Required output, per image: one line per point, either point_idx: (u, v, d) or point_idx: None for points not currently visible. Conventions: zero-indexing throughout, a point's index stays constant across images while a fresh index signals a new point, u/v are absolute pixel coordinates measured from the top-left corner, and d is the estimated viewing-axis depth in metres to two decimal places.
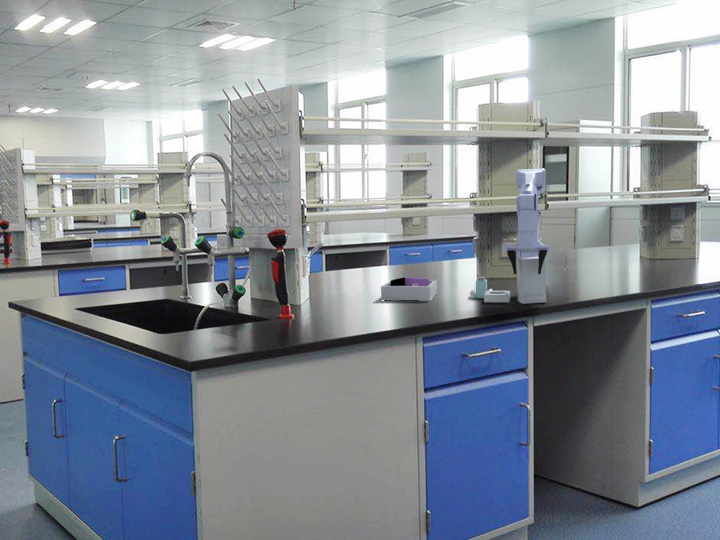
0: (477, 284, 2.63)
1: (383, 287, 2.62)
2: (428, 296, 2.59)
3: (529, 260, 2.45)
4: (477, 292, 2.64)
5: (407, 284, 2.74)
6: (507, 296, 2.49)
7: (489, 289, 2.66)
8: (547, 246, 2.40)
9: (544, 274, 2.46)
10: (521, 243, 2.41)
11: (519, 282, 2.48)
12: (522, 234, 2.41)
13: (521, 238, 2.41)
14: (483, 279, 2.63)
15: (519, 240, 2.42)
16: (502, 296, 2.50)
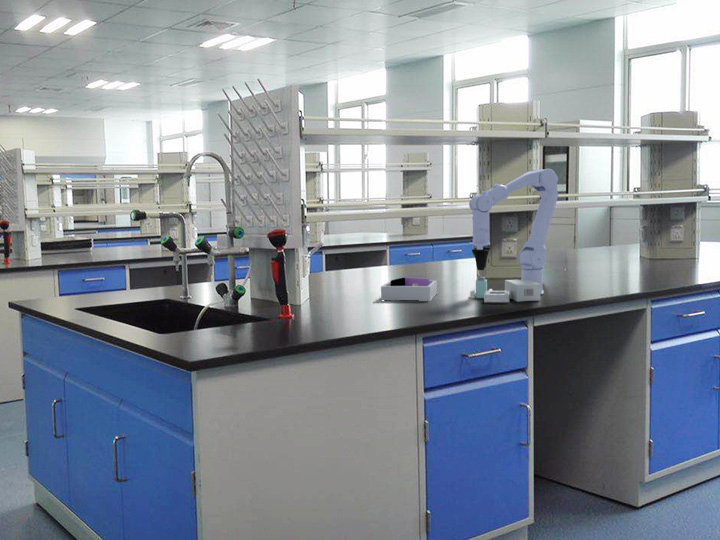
0: (477, 284, 2.63)
1: (383, 287, 2.62)
2: (428, 296, 2.59)
3: None
4: (477, 292, 2.64)
5: (407, 284, 2.74)
6: (507, 296, 2.49)
7: (489, 289, 2.66)
8: (476, 244, 2.57)
9: None
10: None
11: (510, 289, 2.58)
12: None
13: None
14: (483, 279, 2.63)
15: None
16: (502, 296, 2.50)
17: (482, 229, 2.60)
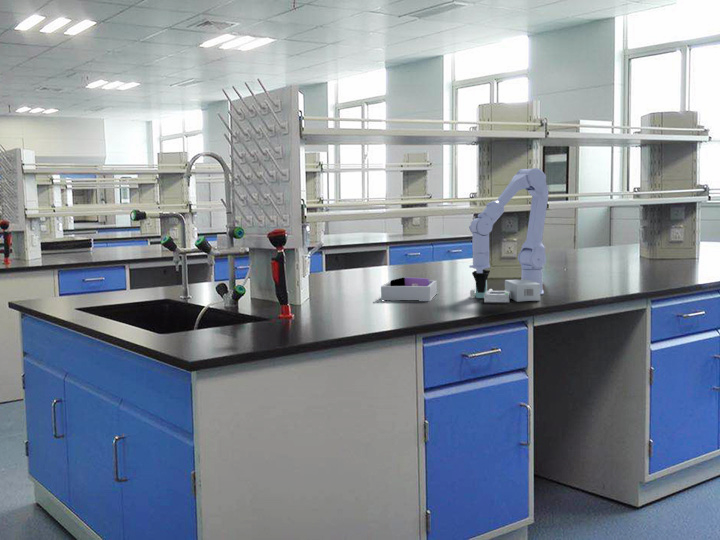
0: None
1: (383, 287, 2.62)
2: (428, 296, 2.59)
3: None
4: (477, 291, 2.64)
5: (407, 284, 2.74)
6: (507, 296, 2.49)
7: (489, 289, 2.66)
8: (476, 268, 2.58)
9: None
10: None
11: (510, 289, 2.58)
12: None
13: None
14: None
15: None
16: (502, 296, 2.50)
17: (482, 252, 2.61)
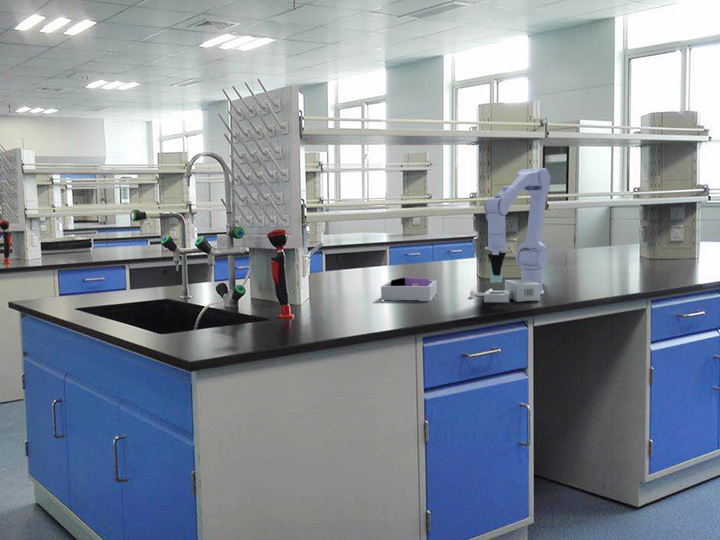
0: (491, 268, 2.52)
1: (383, 287, 2.62)
2: (428, 296, 2.59)
3: None
4: (491, 276, 2.53)
5: (407, 284, 2.74)
6: (507, 296, 2.49)
7: (489, 289, 2.66)
8: (492, 249, 2.47)
9: None
10: None
11: (510, 289, 2.58)
12: None
13: None
14: None
15: None
16: (502, 296, 2.50)
17: (502, 233, 2.50)
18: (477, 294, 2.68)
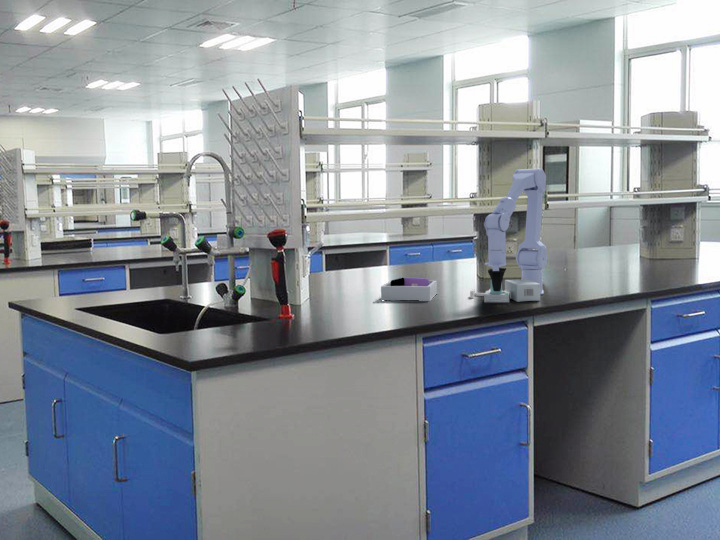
0: None
1: (383, 287, 2.62)
2: (428, 296, 2.59)
3: None
4: (491, 291, 2.53)
5: (406, 284, 2.74)
6: (507, 296, 2.49)
7: (489, 289, 2.66)
8: (492, 265, 2.48)
9: None
10: None
11: (510, 289, 2.58)
12: None
13: None
14: None
15: None
16: (502, 296, 2.50)
17: (502, 249, 2.51)
18: (477, 294, 2.68)
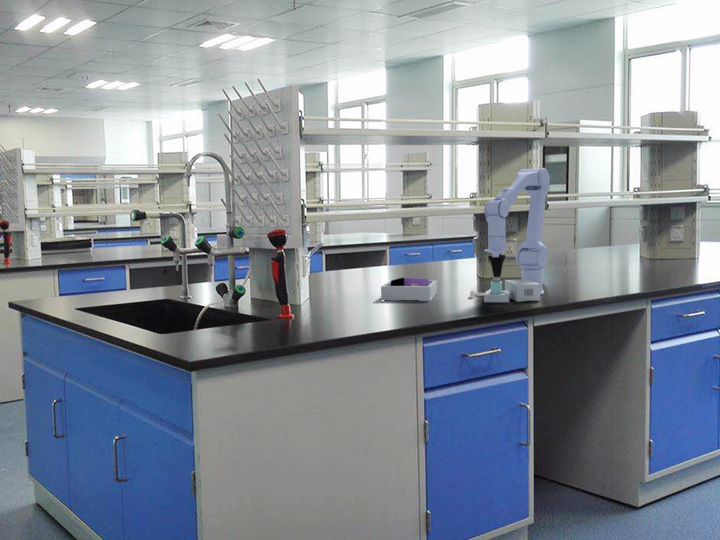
0: (492, 286, 2.53)
1: (383, 287, 2.62)
2: (428, 296, 2.59)
3: None
4: None
5: (406, 284, 2.74)
6: (507, 296, 2.49)
7: (489, 289, 2.66)
8: (492, 252, 2.47)
9: None
10: None
11: (510, 289, 2.58)
12: None
13: None
14: (498, 281, 2.53)
15: None
16: (502, 296, 2.50)
17: (502, 235, 2.50)
18: (477, 294, 2.68)
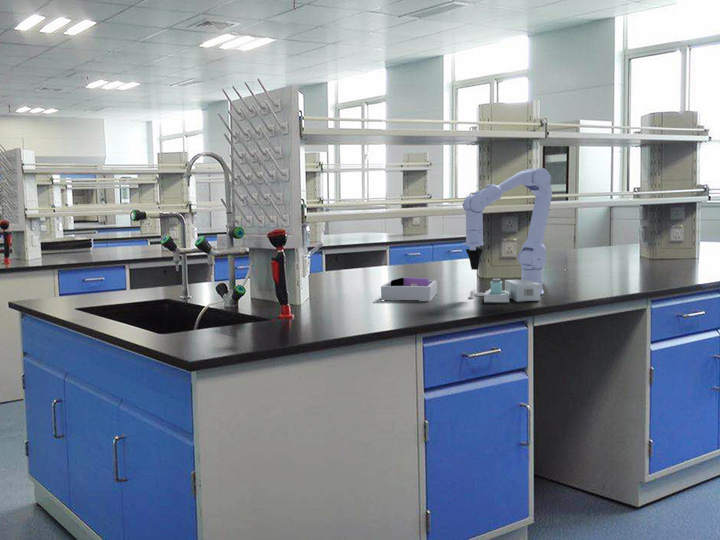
0: (492, 286, 2.53)
1: (383, 287, 2.62)
2: (428, 296, 2.59)
3: None
4: None
5: (406, 284, 2.73)
6: (507, 296, 2.49)
7: (489, 289, 2.66)
8: (469, 245, 2.56)
9: None
10: None
11: (510, 289, 2.58)
12: None
13: None
14: (498, 281, 2.53)
15: None
16: (502, 296, 2.50)
17: (475, 229, 2.58)
18: (477, 294, 2.68)
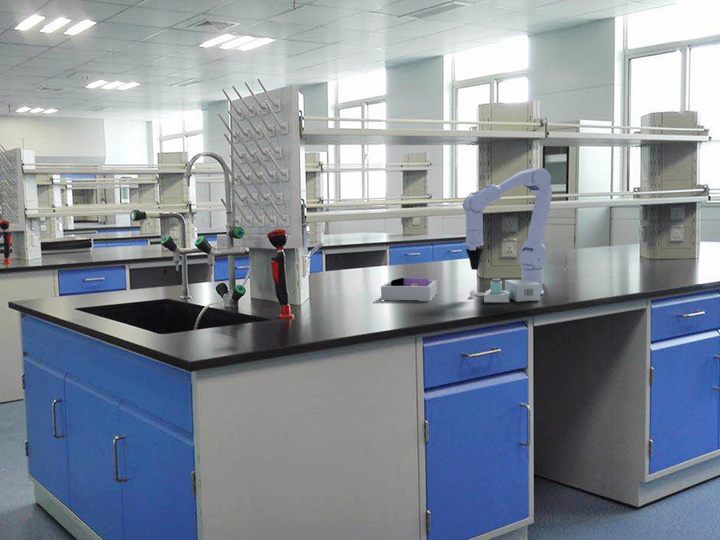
0: (492, 286, 2.53)
1: (383, 287, 2.62)
2: (428, 296, 2.59)
3: None
4: None
5: (406, 284, 2.73)
6: (507, 296, 2.49)
7: (489, 289, 2.66)
8: (469, 245, 2.56)
9: None
10: None
11: (510, 289, 2.58)
12: None
13: None
14: (498, 281, 2.53)
15: None
16: (502, 296, 2.50)
17: (475, 229, 2.58)
18: (477, 294, 2.68)
